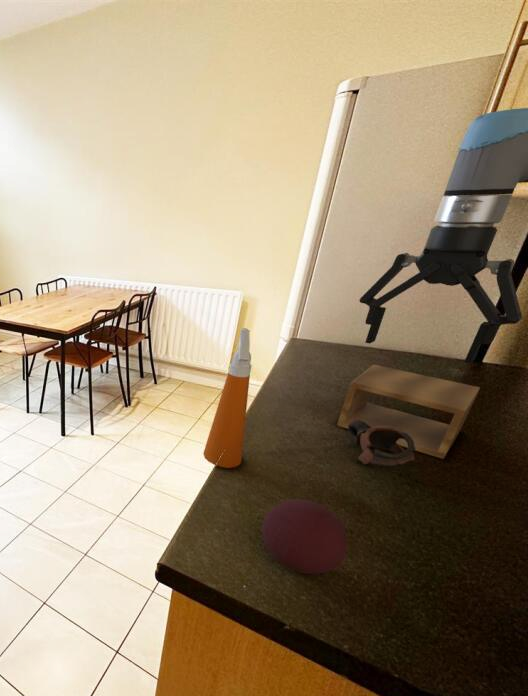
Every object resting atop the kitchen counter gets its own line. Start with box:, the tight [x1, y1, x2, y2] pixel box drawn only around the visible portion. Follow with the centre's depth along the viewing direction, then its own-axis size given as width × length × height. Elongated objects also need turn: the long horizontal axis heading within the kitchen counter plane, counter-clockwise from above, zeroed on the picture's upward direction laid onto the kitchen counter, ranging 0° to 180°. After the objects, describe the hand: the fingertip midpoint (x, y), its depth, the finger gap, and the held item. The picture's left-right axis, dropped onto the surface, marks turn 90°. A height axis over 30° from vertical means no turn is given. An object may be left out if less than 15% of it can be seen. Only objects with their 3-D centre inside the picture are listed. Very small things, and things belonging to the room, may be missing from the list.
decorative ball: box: [261, 498, 349, 575], centre depth 58 cm, size 10×10×10 cm
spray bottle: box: [202, 327, 252, 469], centre depth 81 cm, size 7×11×26 cm, turn 156°
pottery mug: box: [347, 420, 416, 467], centre depth 83 cm, size 12×10×8 cm
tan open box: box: [336, 364, 481, 460], centre depth 91 cm, size 18×16×11 cm
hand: (416, 350), depth 74 cm, fingers open, 13 cm apart
